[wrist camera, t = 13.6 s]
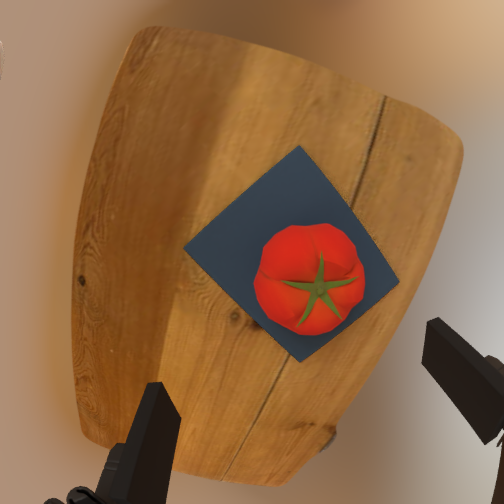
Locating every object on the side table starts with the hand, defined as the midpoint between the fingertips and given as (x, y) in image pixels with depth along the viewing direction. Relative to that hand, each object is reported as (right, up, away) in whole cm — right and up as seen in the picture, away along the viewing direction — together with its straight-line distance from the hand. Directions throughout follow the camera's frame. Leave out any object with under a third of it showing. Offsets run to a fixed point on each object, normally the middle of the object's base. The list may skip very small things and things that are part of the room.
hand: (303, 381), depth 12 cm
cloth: (+3, +4, +19) cm, 19 cm away
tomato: (+3, +4, +19) cm, 19 cm away
